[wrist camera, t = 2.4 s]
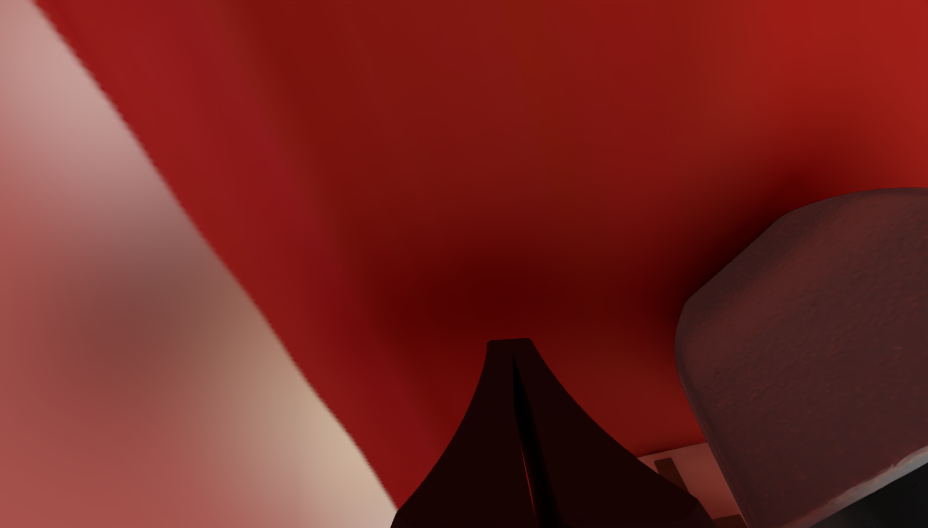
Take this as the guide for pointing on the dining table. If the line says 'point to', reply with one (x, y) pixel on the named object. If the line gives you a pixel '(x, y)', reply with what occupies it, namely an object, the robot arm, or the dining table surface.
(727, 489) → the letter cube
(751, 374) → the flower pot
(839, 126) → the dining table surface
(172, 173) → the dining table surface
